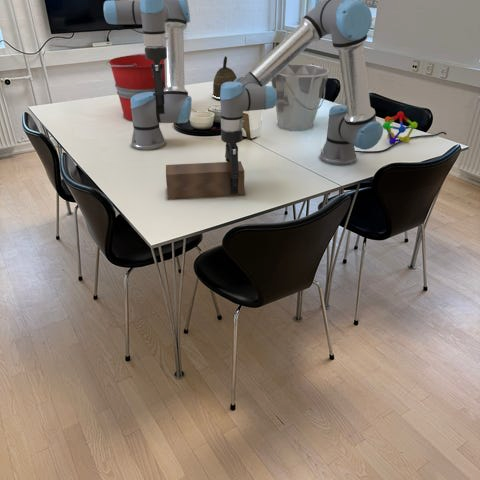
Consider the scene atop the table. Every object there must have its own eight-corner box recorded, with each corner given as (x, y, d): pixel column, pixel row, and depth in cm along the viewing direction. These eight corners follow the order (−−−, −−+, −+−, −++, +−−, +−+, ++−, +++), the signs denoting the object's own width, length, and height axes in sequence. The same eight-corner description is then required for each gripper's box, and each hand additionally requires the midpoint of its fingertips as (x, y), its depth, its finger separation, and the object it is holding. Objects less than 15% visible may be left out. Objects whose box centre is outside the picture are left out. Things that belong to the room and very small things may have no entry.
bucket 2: (296, 138, 215) (301, 78, 201) (255, 124, 234) (256, 68, 219) (335, 125, 232) (342, 70, 217) (294, 113, 251) (297, 61, 236)
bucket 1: (123, 106, 262) (116, 51, 247) (182, 106, 262) (178, 52, 246) (106, 123, 233) (97, 63, 217) (172, 124, 232) (168, 64, 216)
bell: (227, 105, 294) (202, 96, 282) (238, 66, 289) (213, 55, 277) (243, 108, 280) (217, 98, 268) (255, 66, 275) (229, 55, 263)
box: (168, 199, 159) (165, 174, 154) (167, 189, 167) (165, 164, 161) (244, 195, 162) (244, 170, 157) (240, 184, 170) (240, 161, 165)
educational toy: (377, 146, 209) (379, 114, 202) (384, 138, 219) (386, 107, 211) (411, 149, 202) (415, 116, 195) (417, 141, 212) (420, 109, 204)
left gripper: (166, 52, 143) (171, 117, 154) (166, 41, 164) (170, 99, 175) (142, 52, 142) (149, 118, 153) (145, 41, 163) (151, 100, 174)
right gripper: (248, 140, 143) (246, 199, 155) (237, 118, 164) (237, 171, 175) (225, 141, 142) (225, 201, 154) (217, 119, 163) (218, 172, 175)
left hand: (160, 108), depth 164 cm, fingers open, 13 cm apart
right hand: (231, 185), depth 165 cm, fingers open, 13 cm apart
